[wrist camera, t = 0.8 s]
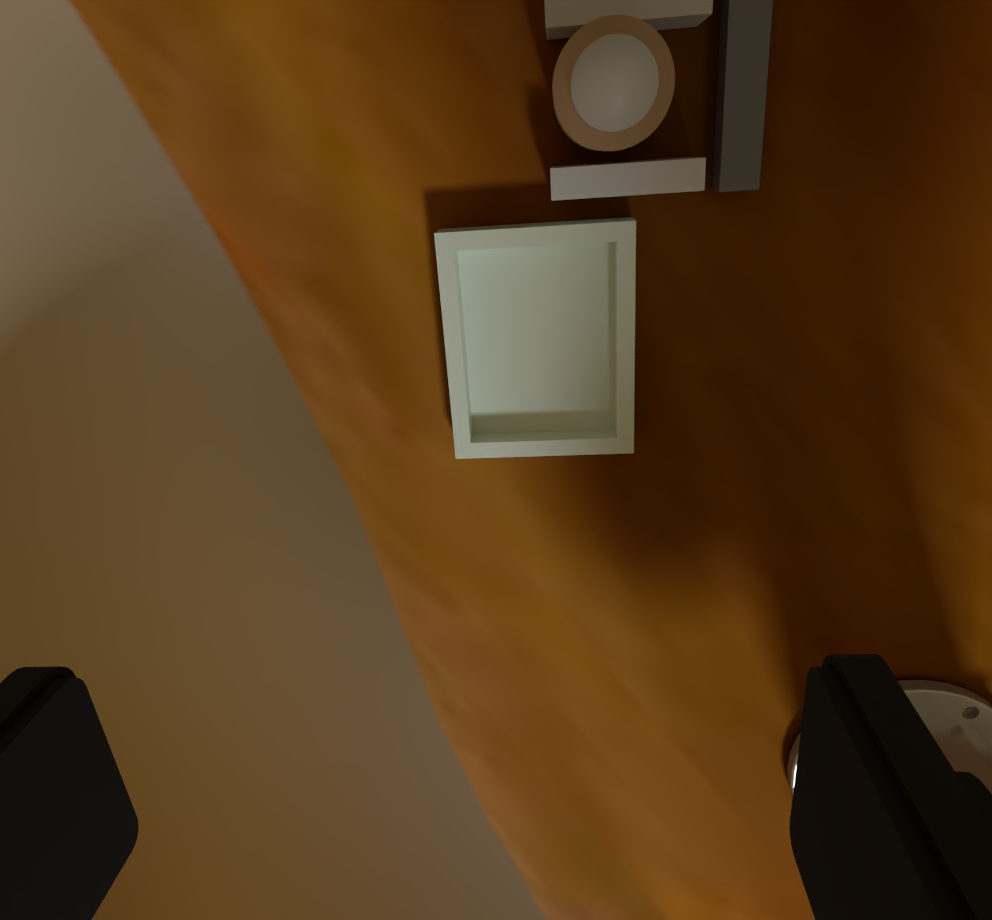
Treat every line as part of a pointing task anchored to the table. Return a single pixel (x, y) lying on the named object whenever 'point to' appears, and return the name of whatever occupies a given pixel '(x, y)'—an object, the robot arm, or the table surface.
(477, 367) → the tray
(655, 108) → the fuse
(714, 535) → the table surface
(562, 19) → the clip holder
